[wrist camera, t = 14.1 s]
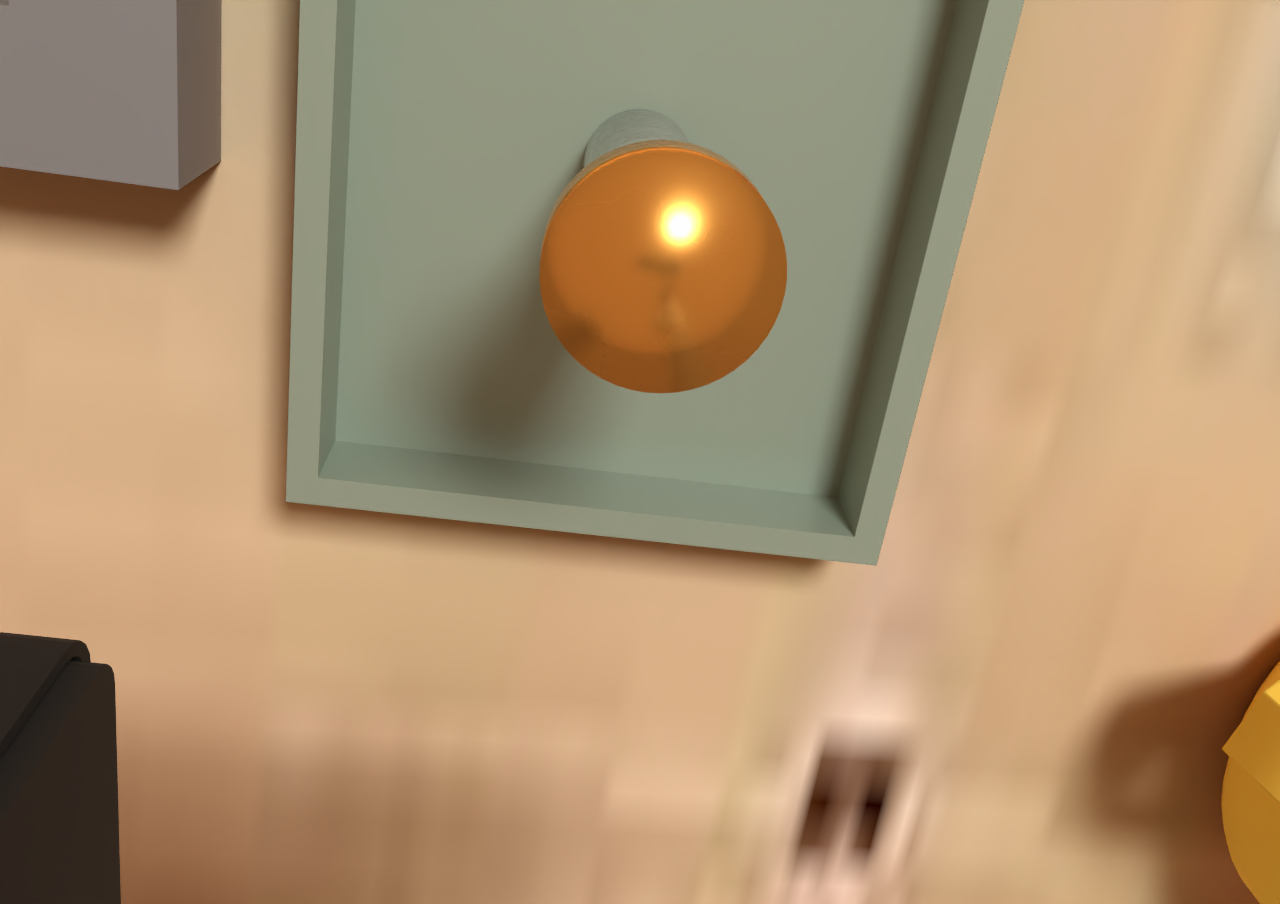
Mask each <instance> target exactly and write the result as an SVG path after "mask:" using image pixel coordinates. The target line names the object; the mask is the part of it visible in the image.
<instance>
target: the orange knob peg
mask: <svg viewBox="0 0 1280 904" xmlns="http://www.w3.org/2000/svg"><path fill="white" fill-rule="evenodd" d="M539 279H540V291H541V297H542V301H543V306H544V310H545V312H546V315H547V318H548V320H549V323H550V325H551V327H552V329H553V331H554V332H555V334H556V336H557V338H558V339H559V341H560V342H561V343H562V345H563V346H564V347H565V349H566V350H567V351H568V352H569V353H570V354H571V355H572V356H573V358H574V359H575V360H576V361H577V362H579V363H580V364H581V365H582V366H584V367H585V368H586V369H587V370H588V371H590V372H592V373H593V374H595V375H596V376H598V377H600V378H601V379H603V380H606V381H608V382H610V383H612V384H614V385H617V386H620V387H623V388H626V389H629V390H634V391H640V392H645V393H676V392H682V391H687V390H692V389H695V388H699V387H702V386H705V385H708V384H710V383H712V382H714V381H716V380H719V379H721V378H723V377H724V376H726V375H727V374H729V373H731V372H732V371H734V370H735V369H737V368H738V367H739V366H740V365H742V364H743V363H744V362H745V361H747V360H748V359H749V358H750V357H751V356H752V355H753V353H754V352H755V351H756V350H757V349H758V348H759V347H760V345H761V344H762V343H763V342H764V340H765V339H766V338H767V336H768V334H769V333H770V331H771V329H772V327H773V326H774V324H775V322H776V319H777V317H778V315H779V312H780V310H781V307H782V303H783V299H784V296H785V290H786V283H787V258H786V250H785V245H784V241H783V238H782V234H781V231H780V228H779V226H778V224H777V222H776V219H775V217H774V215H773V214H772V212H771V210H770V209H769V207H768V205H767V204H766V202H765V200H764V199H763V197H762V196H761V194H760V193H759V191H758V189H757V188H756V187H755V185H754V184H753V183H752V182H751V181H750V179H749V178H748V177H747V176H746V175H745V174H744V173H743V172H742V171H741V170H740V169H739V168H738V167H737V166H735V165H734V164H733V163H731V162H730V161H728V160H727V159H726V158H724V157H723V156H721V155H719V154H717V153H715V152H713V151H711V150H709V149H706V148H704V147H701V146H698V145H695V144H691V143H689V142H688V139H687V137H686V136H685V134H684V132H683V131H682V130H681V129H680V127H679V126H678V125H677V124H676V123H675V122H674V121H672V120H671V119H670V118H668V117H667V116H665V115H663V114H661V113H658V112H655V111H652V110H647V109H631V110H625V111H622V112H619V113H617V114H615V115H613V116H611V117H609V118H608V119H606V120H605V121H604V122H603V123H602V124H601V125H599V127H598V128H597V129H596V130H595V131H594V133H593V134H592V136H591V138H590V140H589V142H588V144H587V147H586V150H585V155H584V168H583V169H582V170H581V171H580V172H579V173H578V174H577V175H575V177H574V178H573V179H572V180H571V181H570V182H569V184H568V185H567V186H566V187H565V188H564V190H563V191H562V193H561V194H560V196H559V197H558V199H557V200H556V203H555V205H554V207H553V209H552V211H551V213H550V215H549V218H548V221H547V224H546V227H545V232H544V237H543V242H542V250H541V259H540V275H539Z"/></svg>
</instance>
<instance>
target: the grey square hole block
mask: <svg viewBox="0 0 1280 904" xmlns="http://www.w3.org/2000/svg"><path fill="white" fill-rule="evenodd" d="M220 161H221V0H0V166H1V167H8V168H16V169H23V170H31V171H38V172H46V173H53V174H61V175H68V176H76V177H83V178H91V179H98V180H106V181H113V182H121V183H128V184H136V185H143V186H151V187H158V188H166V189H174V190H180V189H181V188H182V187H184V186H185V185H187V184H188V183H190V182H191V181H192V180H194V179H195V178H197V177H198V176H200V175H201V174H203V173H204V172H205V171H207V170H208V169H210V168H211V167H213V166H214V165H216V164H217V163H218V162H220Z"/></svg>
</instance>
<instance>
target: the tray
mask: <svg viewBox="0 0 1280 904" xmlns="http://www.w3.org/2000/svg"><path fill="white" fill-rule="evenodd" d="M1023 4H1024V0H300V20H299V55H298V90H297V125H296V161H295V196H294V231H293V266H292V302H291V337H290V372H289V408H288V443H287V478H286V502H293V503H303V504H312V505H321V506H330V507H340V508H349V509H358V510H367V511H376V512H386V513H395V514H404V515H413V516H423V517H432V518H441V519H450V520H460V521H469V522H478V523H487V524H497V525H506V526H515V527H524V528H534V529H543V530H552V531H561V532H571V533H580V534H589V535H598V536H608V537H617V538H626V539H635V540H644V541H654V542H663V543H672V544H681V545H691V546H700V547H709V548H718V549H728V550H737V551H746V552H755V553H765V554H774V555H783V556H792V557H802V558H811V559H820V560H829V561H839V562H848V563H857V564H866V565H875V566H877V562H878V558H879V554H880V550H881V546H882V543H883V539H884V535H885V531H886V527H887V523H888V520H889V516H890V512H891V508H892V504H893V501H894V497H895V493H896V489H897V485H898V481H899V478H900V474H901V470H902V466H903V462H904V459H905V455H906V451H907V447H908V443H909V439H910V436H911V432H912V428H913V424H914V420H915V417H916V413H917V409H918V405H919V401H920V397H921V394H922V390H923V386H924V382H925V378H926V374H927V371H928V367H929V363H930V359H931V355H932V352H933V348H934V344H935V340H936V336H937V332H938V329H939V325H940V321H941V317H942V313H943V310H944V306H945V302H946V298H947V294H948V290H949V287H950V283H951V279H952V275H953V271H954V268H955V264H956V260H957V256H958V252H959V248H960V245H961V241H962V237H963V233H964V229H965V225H966V222H967V218H968V214H969V210H970V206H971V203H972V199H973V195H974V191H975V187H976V183H977V180H978V176H979V172H980V168H981V164H982V161H983V157H984V153H985V149H986V145H987V141H988V138H989V134H990V130H991V126H992V122H993V118H994V115H995V111H996V107H997V103H998V99H999V96H1000V92H1001V88H1002V84H1003V80H1004V76H1005V73H1006V69H1007V65H1008V61H1009V57H1010V54H1011V50H1012V46H1013V42H1014V38H1015V34H1016V31H1017V27H1018V23H1019V19H1020V15H1021V12H1022V8H1023ZM631 109H647V110H652V111H655V112H658V113H661V114H663V115H665V116H667V117H668V118H670V119H671V120H672V121H674V122H675V123H676V124H677V125H678V126H679V127H680V129H681V130H682V131H683V132H684V134H685V136H686V137H687V139H688V142H689V143H691V144H695V145H698V146H701V147H704V148H706V149H709V150H711V151H713V152H715V153H717V154H719V155H721V156H723V157H724V158H726V159H727V160H728V161H730V162H731V163H733V164H734V165H735V166H737V167H738V168H739V169H740V170H741V171H742V172H743V173H744V174H745V175H746V176H747V177H748V178H749V179H750V181H751V182H752V183H753V184H754V185H755V187H756V188H757V189H758V191H759V193H760V194H761V196H762V197H763V199H764V200H765V202H766V204H767V205H768V207H769V209H770V210H771V212H772V214H773V215H774V217H775V219H776V222H777V224H778V226H779V228H780V231H781V234H782V238H783V241H784V245H785V250H786V258H787V283H786V290H785V296H784V299H783V303H782V307H781V310H780V312H779V315H778V317H777V319H776V322H775V324H774V326H773V327H772V329H771V331H770V333H769V334H768V336H767V338H766V339H765V340H764V342H763V343H762V344H761V345H760V347H759V348H758V349H757V350H756V351H755V352H754V353H753V355H752V356H751V357H750V358H749V359H748V360H747V361H745V362H744V363H743V364H742V365H740V366H739V367H738V368H737V369H735V370H734V371H732V372H731V373H729V374H727V375H726V376H724V377H723V378H721V379H719V380H716V381H714V382H712V383H710V384H708V385H705V386H702V387H699V388H695V389H692V390H687V391H682V392H676V393H645V392H640V391H634V390H629V389H626V388H623V387H620V386H617V385H614V384H612V383H610V382H608V381H606V380H603V379H601V378H600V377H598V376H596V375H595V374H593V373H592V372H590V371H588V370H587V369H586V368H585V367H584V366H582V365H581V364H580V363H579V362H577V361H576V360H575V359H574V358H573V356H572V355H571V354H570V353H569V352H568V351H567V350H566V349H565V347H564V346H563V345H562V343H561V342H560V341H559V339H558V338H557V336H556V334H555V332H554V331H553V329H552V327H551V325H550V323H549V320H548V318H547V315H546V312H545V310H544V306H543V301H542V297H541V291H540V279H539V275H540V259H541V250H542V242H543V237H544V232H545V227H546V224H547V221H548V218H549V215H550V213H551V211H552V209H553V207H554V205H555V203H556V200H557V199H558V197H559V196H560V194H561V193H562V191H563V190H564V188H565V187H566V186H567V185H568V184H569V182H570V181H571V180H572V179H573V178H574V177H575V175H577V174H578V173H579V172H580V171H581V170H582V169H583V168H584V155H585V150H586V147H587V144H588V142H589V140H590V138H591V136H592V134H593V133H594V131H595V130H596V129H597V128H598V127H599V125H601V124H602V123H603V122H604V121H605V120H606V119H608V118H609V117H611V116H613V115H615V114H617V113H619V112H622V111H625V110H631Z"/></svg>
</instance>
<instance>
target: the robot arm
mask: <svg viewBox="0 0 1280 904" xmlns="http://www.w3.org/2000/svg"><path fill="white" fill-rule="evenodd" d="M0 904H121V895H120V857H119V820H118V782H117V745H116V707H115V680H114V673H113V670H112V668H111V666H109V665H108V664H99V663H91V661H90V653H89V651H88V648H87V646H86V644H85V643H83V642H82V641H80V640H70V639H60V638H51V637H41V636H31V635H22V634H12V633H2V632H1V633H0Z"/></svg>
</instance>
